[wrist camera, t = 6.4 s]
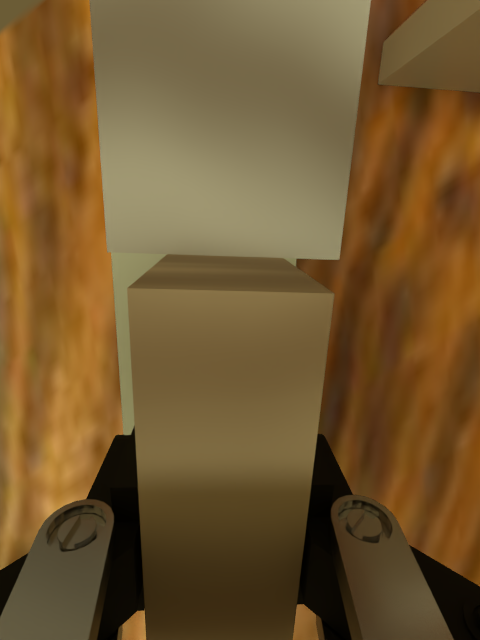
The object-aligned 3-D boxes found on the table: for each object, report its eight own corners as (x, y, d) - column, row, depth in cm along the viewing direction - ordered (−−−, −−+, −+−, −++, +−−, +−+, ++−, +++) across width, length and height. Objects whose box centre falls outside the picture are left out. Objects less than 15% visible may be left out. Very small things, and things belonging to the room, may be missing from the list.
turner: (290, 606, 14) (327, 807, 9) (138, 612, 14) (96, 825, 9) (365, -53, 8) (582, -443, 3) (95, -80, 8) (-110, -572, 3)
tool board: (277, 447, 26) (279, 454, 26) (127, 450, 25) (125, 458, 25) (308, 78, 19) (312, 73, 19) (102, 62, 18) (97, 55, 18)
